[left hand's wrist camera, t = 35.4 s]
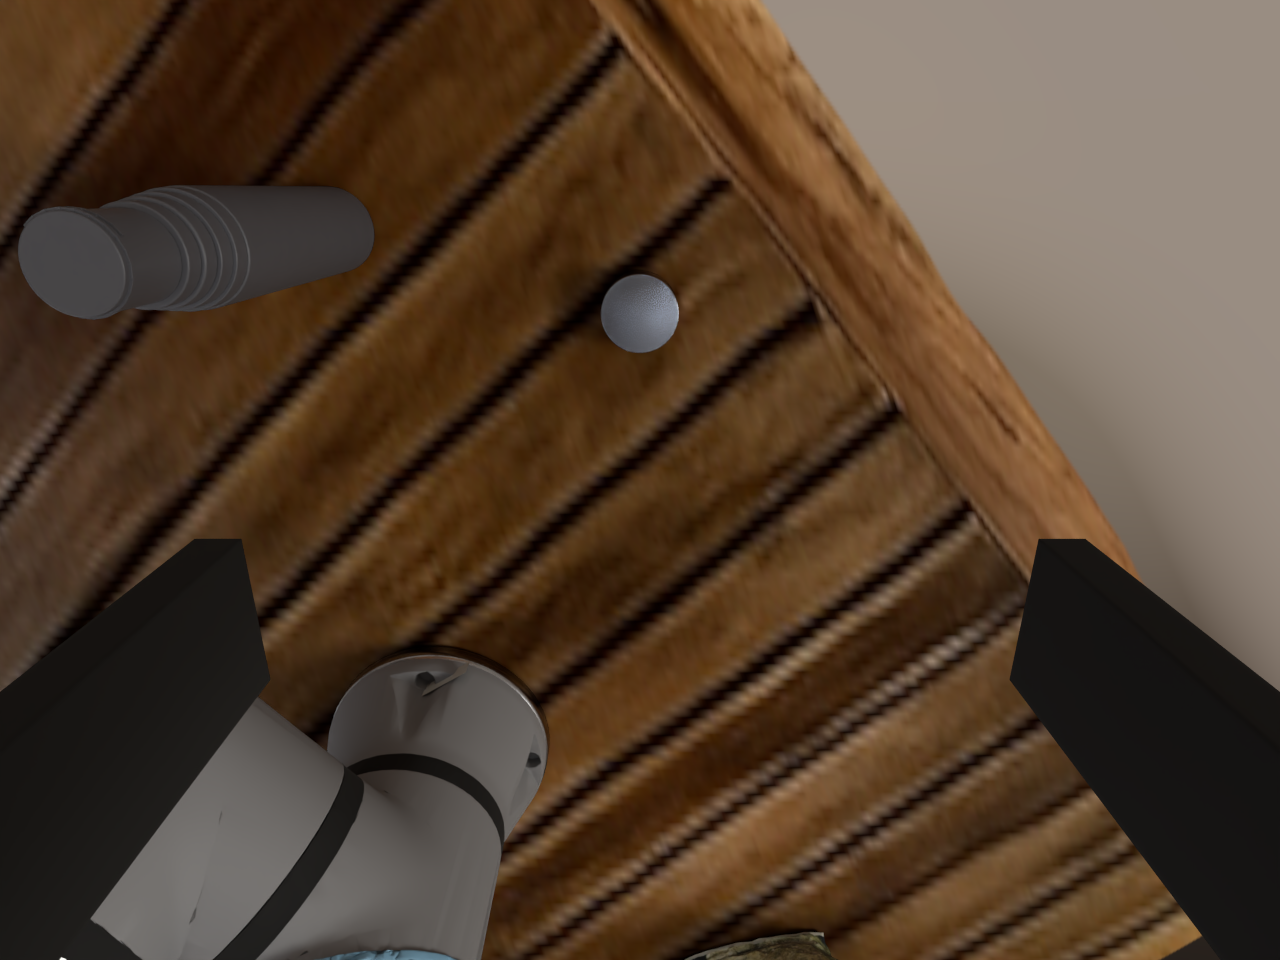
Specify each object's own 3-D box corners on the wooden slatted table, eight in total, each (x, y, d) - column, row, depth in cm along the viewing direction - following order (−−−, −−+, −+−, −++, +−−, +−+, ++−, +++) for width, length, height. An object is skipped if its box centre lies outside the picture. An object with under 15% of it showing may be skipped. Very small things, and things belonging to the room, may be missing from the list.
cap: (664, 259, 43) (665, 263, 41) (686, 332, 45) (688, 339, 43) (592, 284, 44) (590, 288, 42) (616, 355, 45) (615, 363, 43)
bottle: (391, 236, 43) (180, 277, 23) (335, 288, 44) (87, 370, 24) (331, 168, 42) (54, 149, 22) (275, 223, 43) (-40, 253, 23)
